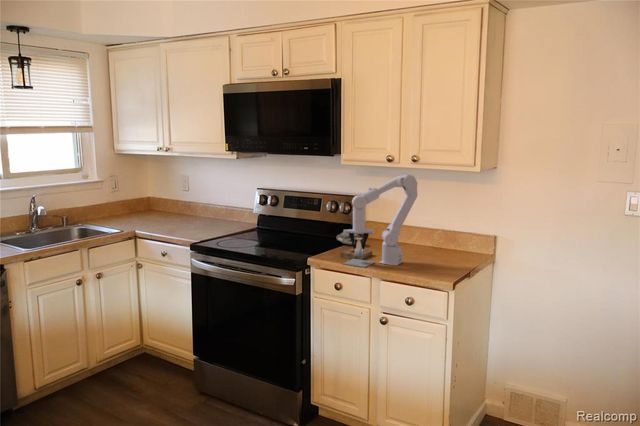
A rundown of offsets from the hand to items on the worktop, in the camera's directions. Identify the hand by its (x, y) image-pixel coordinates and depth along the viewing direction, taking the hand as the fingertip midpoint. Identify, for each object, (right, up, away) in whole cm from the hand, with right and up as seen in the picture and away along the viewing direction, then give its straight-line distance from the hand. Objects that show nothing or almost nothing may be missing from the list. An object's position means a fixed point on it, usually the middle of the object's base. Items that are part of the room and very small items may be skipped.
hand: (358, 248), depth 246 cm
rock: (-1, -1, +43) cm, 43 cm away
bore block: (0, -5, +15) cm, 16 cm away
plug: (0, -3, +1) cm, 3 cm away
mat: (0, -7, +1) cm, 7 cm away
